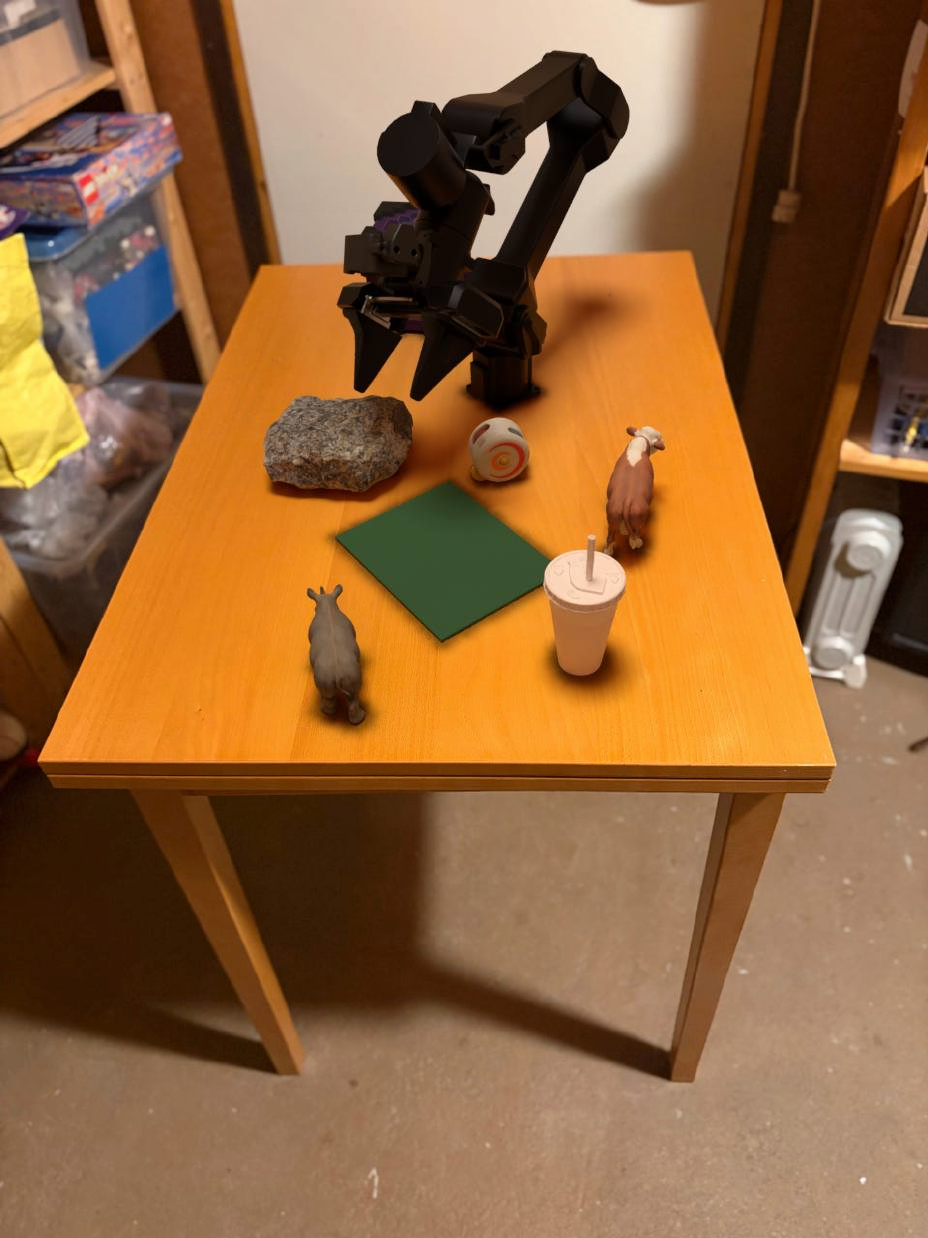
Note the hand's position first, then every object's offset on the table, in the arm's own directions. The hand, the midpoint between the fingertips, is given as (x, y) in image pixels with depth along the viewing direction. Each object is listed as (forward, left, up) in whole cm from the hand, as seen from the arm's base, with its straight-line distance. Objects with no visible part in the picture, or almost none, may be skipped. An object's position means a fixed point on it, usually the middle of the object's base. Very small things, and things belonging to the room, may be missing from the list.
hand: (385, 395), depth 86 cm
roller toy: (-11, +3, -12) cm, 17 cm away
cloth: (+1, +10, -12) cm, 16 cm away
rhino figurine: (+17, +16, -12) cm, 26 cm away
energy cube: (-25, -31, -12) cm, 42 cm away
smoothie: (0, +28, -12) cm, 31 cm away
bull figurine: (-15, +18, -12) cm, 27 cm away
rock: (+1, -9, -12) cm, 15 cm away
